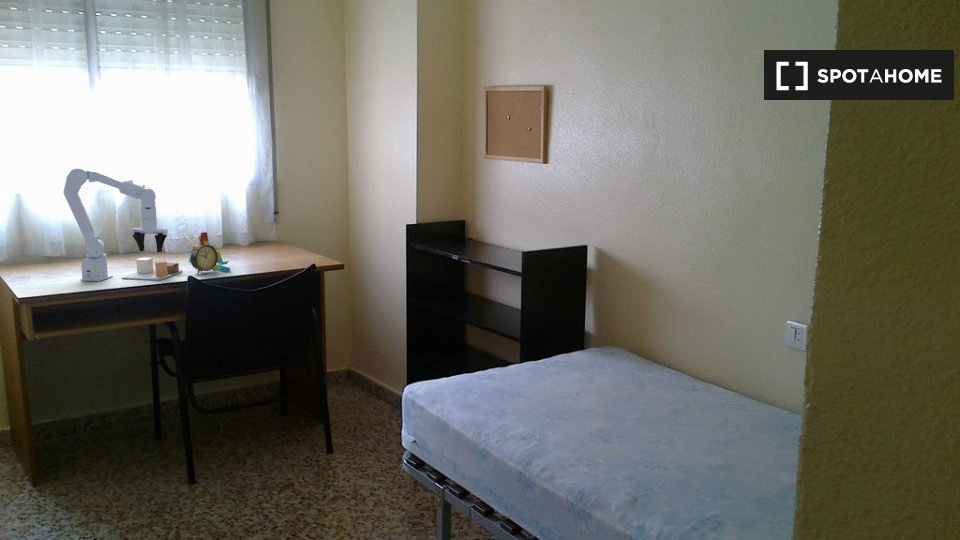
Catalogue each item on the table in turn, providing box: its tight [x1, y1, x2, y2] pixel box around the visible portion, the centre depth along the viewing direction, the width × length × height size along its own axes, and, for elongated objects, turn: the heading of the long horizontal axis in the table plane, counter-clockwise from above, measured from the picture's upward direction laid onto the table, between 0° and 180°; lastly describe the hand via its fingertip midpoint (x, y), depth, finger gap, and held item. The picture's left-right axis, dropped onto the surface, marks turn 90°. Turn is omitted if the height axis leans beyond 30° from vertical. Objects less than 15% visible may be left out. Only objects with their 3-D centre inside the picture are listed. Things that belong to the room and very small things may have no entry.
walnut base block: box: [167, 262, 180, 274], centre depth 321 cm, size 6×6×4 cm
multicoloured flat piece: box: [188, 231, 231, 273], centre depth 336 cm, size 30×3×15 cm, turn 47°
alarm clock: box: [189, 233, 218, 276], centre depth 323 cm, size 11×5×16 cm, turn 148°
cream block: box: [135, 257, 154, 273], centre depth 321 cm, size 4×4×6 cm
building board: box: [121, 268, 183, 282], centre depth 318 cm, size 18×16×1 cm
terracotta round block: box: [154, 260, 168, 277], centre depth 314 cm, size 4×4×6 cm
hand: (150, 251), depth 316 cm, fingers open, 7 cm apart
